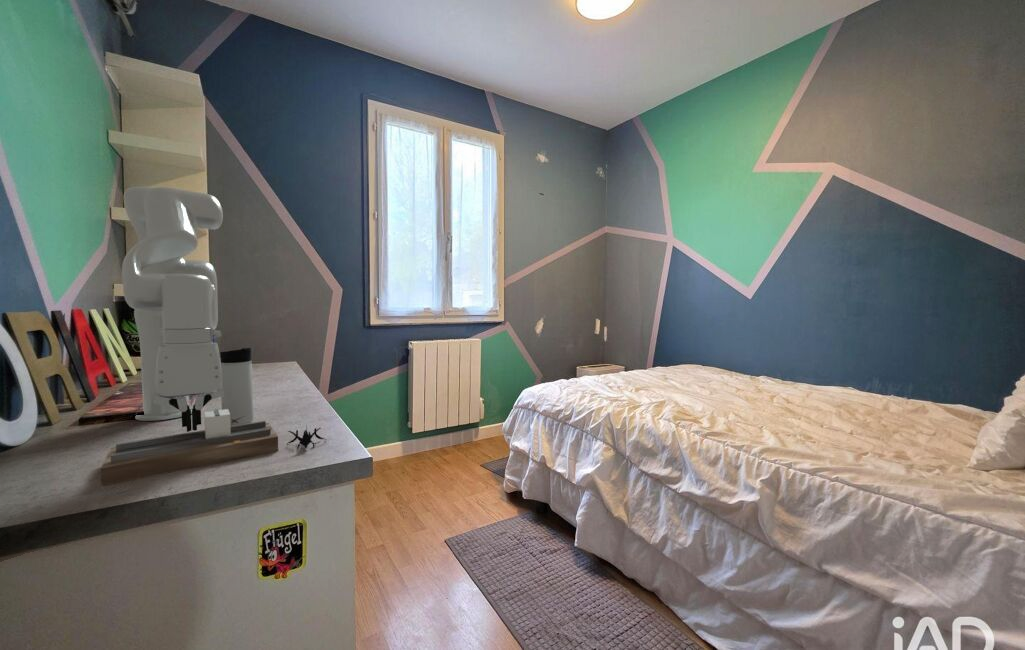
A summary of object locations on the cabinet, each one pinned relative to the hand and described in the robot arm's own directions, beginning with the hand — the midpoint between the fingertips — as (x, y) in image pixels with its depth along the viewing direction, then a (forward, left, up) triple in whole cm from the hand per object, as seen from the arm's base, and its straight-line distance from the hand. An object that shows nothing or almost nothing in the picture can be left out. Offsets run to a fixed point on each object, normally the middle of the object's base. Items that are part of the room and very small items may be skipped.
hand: (191, 429), depth 79 cm
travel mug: (-16, +9, -6) cm, 19 cm away
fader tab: (0, +4, -3) cm, 5 cm away
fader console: (0, +1, -6) cm, 6 cm away
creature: (+6, +19, -6) cm, 21 cm away
